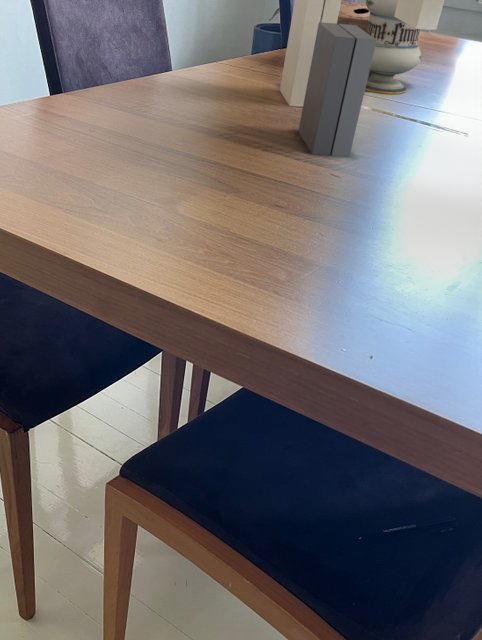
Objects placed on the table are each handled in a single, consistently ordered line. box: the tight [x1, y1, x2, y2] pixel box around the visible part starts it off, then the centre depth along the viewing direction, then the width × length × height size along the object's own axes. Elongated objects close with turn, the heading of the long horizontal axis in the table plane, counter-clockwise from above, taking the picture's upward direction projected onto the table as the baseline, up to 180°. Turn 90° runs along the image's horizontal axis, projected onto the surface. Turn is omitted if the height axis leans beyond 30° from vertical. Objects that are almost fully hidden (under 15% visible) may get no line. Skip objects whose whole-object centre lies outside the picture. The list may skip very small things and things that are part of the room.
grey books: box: [297, 22, 377, 157], centre depth 100 cm, size 5×11×15 cm, turn 0°
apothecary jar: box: [365, 0, 422, 95], centre depth 134 cm, size 12×12×18 cm
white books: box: [279, 0, 342, 108], centre depth 123 cm, size 5×11×17 cm, turn 0°
